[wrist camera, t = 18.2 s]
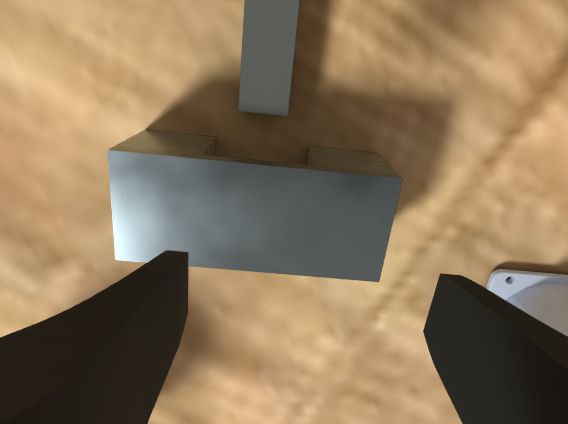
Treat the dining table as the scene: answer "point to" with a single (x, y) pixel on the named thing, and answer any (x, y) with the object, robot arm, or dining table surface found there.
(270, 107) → the plug
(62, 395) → the robot arm
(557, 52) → the dining table surface
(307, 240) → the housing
